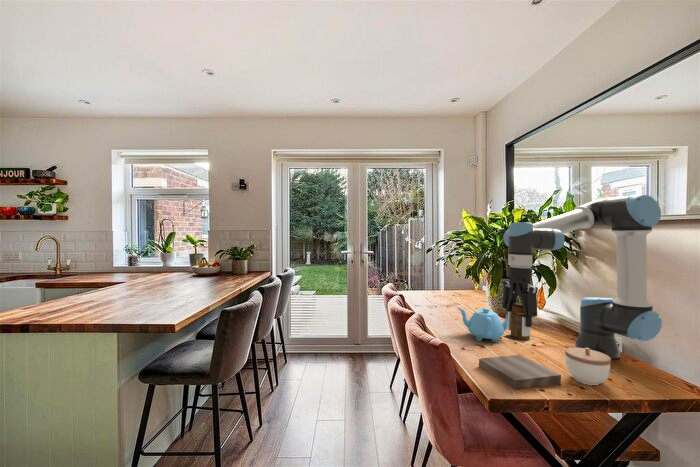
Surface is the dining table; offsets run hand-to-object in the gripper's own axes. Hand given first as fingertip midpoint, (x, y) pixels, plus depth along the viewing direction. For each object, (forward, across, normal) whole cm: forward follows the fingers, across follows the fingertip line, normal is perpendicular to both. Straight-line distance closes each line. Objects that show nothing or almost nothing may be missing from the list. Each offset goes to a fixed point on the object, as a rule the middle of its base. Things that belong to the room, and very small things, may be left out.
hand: (518, 332), depth 114 cm
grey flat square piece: (+15, 0, 0) cm, 15 cm away
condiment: (+2, 0, 0) cm, 2 cm away
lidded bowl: (+15, +9, +20) cm, 27 cm away
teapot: (+15, -37, +15) cm, 43 cm away
